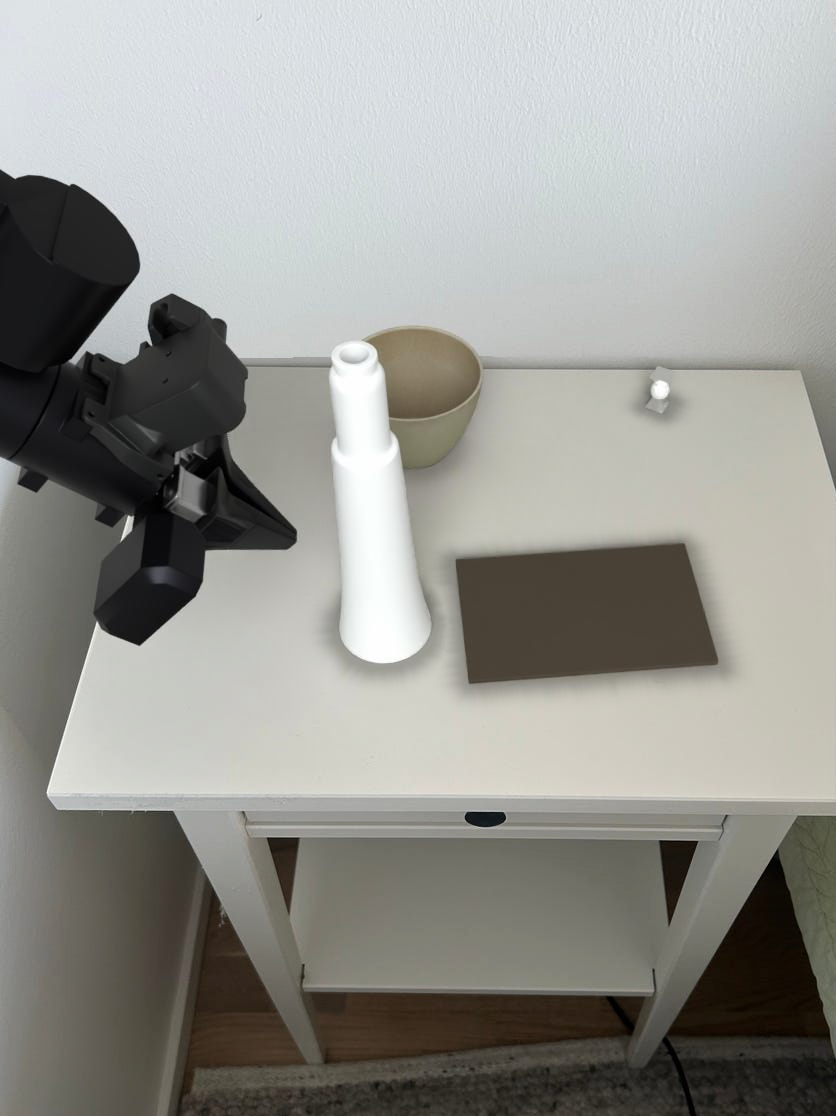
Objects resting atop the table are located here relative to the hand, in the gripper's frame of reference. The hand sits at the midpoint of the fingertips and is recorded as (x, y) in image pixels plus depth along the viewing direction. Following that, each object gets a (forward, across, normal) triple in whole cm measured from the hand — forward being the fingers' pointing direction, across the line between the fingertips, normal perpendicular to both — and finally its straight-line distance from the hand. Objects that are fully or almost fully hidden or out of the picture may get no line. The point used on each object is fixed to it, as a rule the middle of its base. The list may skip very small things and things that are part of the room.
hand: (292, 540), depth 59 cm
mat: (+19, 0, -6) cm, 20 cm away
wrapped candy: (+25, +20, -12) cm, 34 cm away
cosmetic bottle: (+10, 0, +3) cm, 10 cm away
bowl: (+12, +16, +1) cm, 20 cm away
